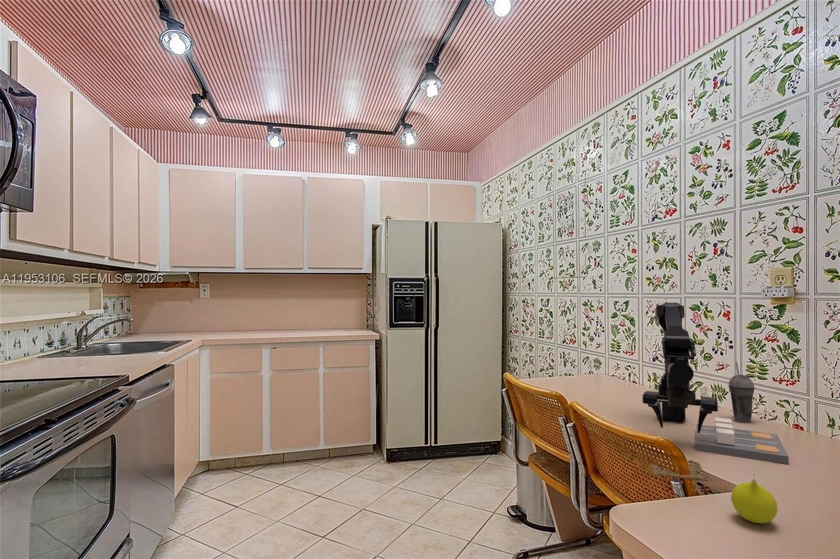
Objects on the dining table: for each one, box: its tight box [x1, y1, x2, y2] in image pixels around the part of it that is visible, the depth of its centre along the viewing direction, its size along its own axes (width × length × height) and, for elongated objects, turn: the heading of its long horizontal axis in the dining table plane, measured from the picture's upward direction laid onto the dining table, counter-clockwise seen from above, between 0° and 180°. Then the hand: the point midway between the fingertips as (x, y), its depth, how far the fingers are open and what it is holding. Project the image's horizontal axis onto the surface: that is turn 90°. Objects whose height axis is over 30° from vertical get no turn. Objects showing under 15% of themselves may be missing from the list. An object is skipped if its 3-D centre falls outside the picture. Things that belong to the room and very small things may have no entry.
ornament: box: [730, 473, 778, 524], centre depth 84 cm, size 7×7×10 cm
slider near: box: [716, 428, 735, 445], centre depth 121 cm, size 4×4×3 cm
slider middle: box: [715, 423, 734, 437], centre depth 126 cm, size 4×4×3 cm
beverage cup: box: [728, 361, 756, 424], centre depth 147 cm, size 7×7×20 cm
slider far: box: [714, 417, 733, 426], centre depth 131 cm, size 4×4×3 cm
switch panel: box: [695, 423, 790, 465], centre depth 124 cm, size 20×20×2 cm
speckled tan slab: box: [649, 460, 711, 482], centre depth 109 cm, size 12×12×1 cm
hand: (680, 430), depth 127 cm, fingers open, 9 cm apart
